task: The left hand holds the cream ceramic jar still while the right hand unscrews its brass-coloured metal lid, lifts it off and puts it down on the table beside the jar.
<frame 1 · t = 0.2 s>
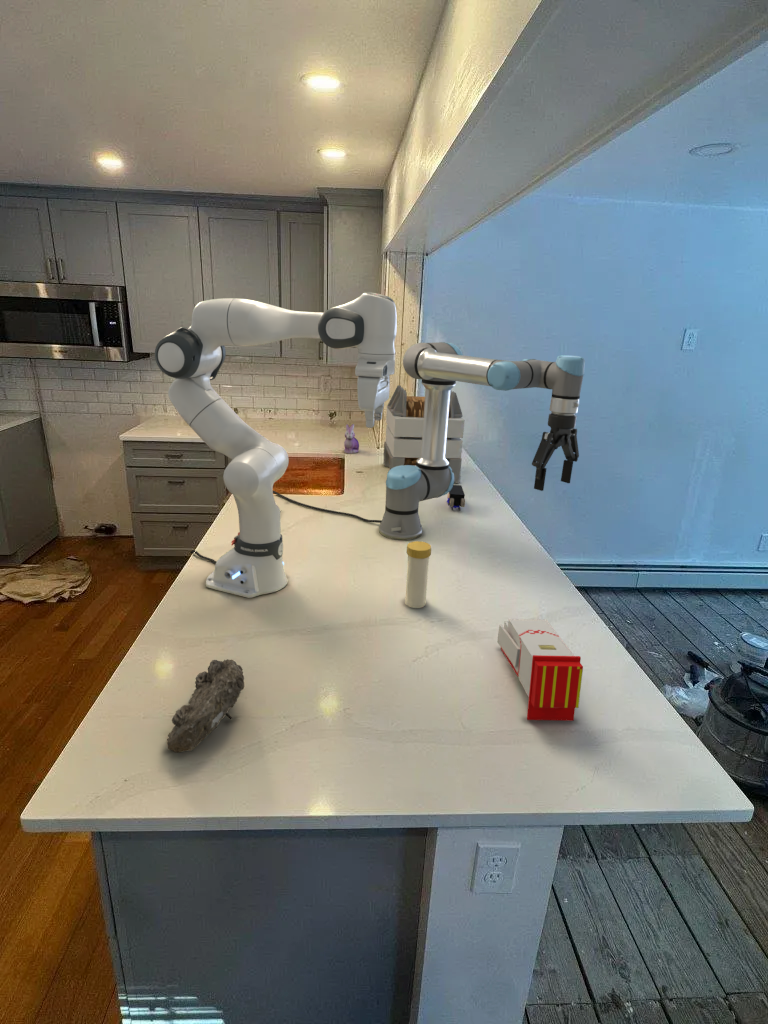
left hand: (374, 423, 139), 48 cm above the counter, tool pointing down, fingers open, 8 cm apart
right hand: (552, 485, 166), 28 cm above the counter, tool pointing down, fingers open, 13 cm apart
toy: (530, 678, 124), on the counter
fossil: (212, 717, 108), on the counter
white slatted box: (419, 473, 275), on the counter
figurine: (351, 451, 309), on the counter
figurine character: (454, 506, 230), on the counter
feather: (279, 514, 213), on the counter
lid: (419, 547, 148), point 16 cm above the counter, screwed on, not yet turned
jar: (415, 603, 153), on the counter
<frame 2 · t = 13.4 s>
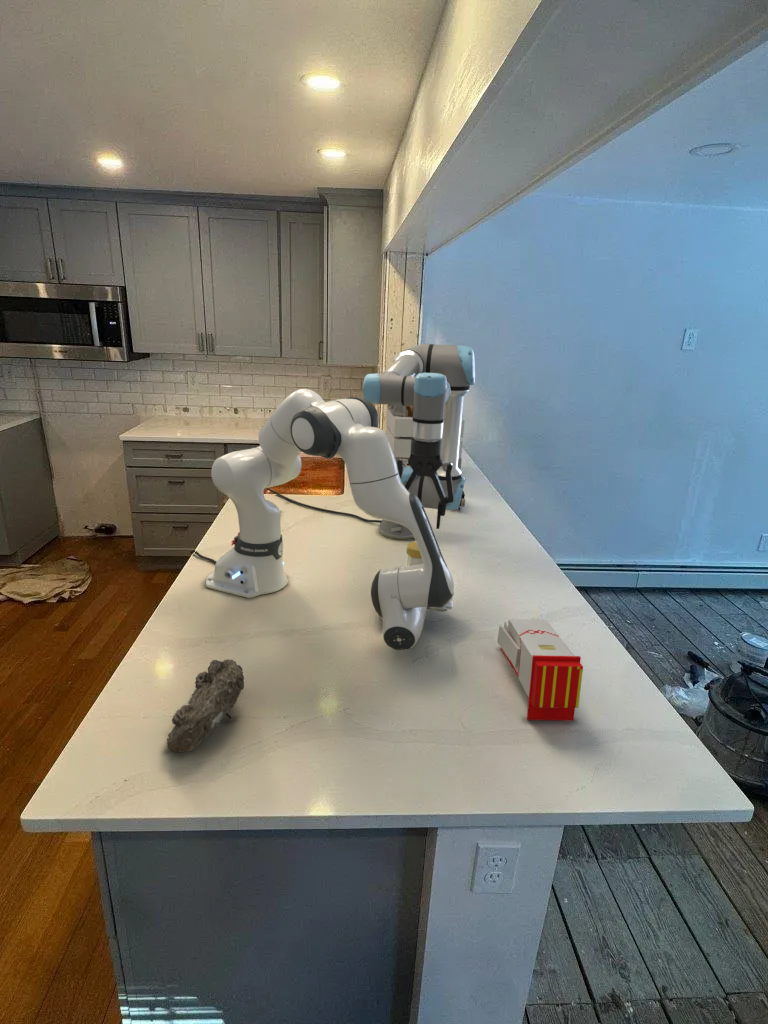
left hand: (417, 580, 152), 6 cm above the counter, tool horizontal, fingers closed on jar, 5 cm apart
right hand: (420, 525, 146), 23 cm above the counter, tool pointing down, fingers open, 8 cm apart
jar: (415, 603, 153), on the counter, touching left hand
everything else where it was.
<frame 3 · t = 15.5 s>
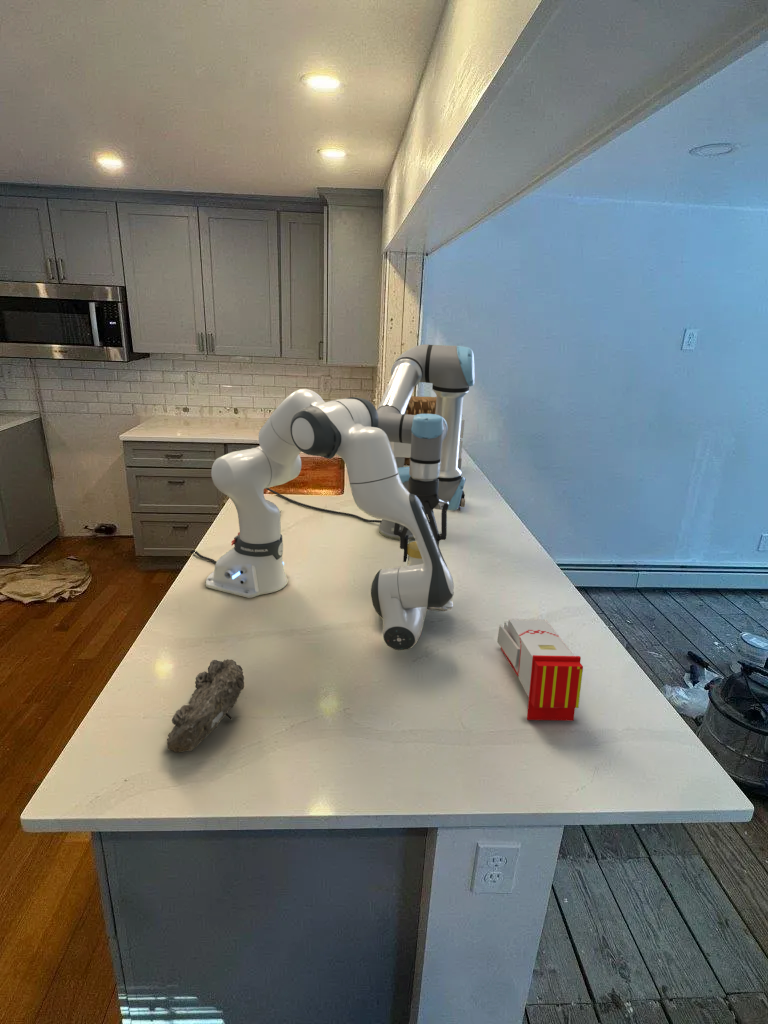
left hand: (417, 580, 152), 6 cm above the counter, tool horizontal, fingers closed on jar, 5 cm apart
right hand: (418, 561, 149), 12 cm above the counter, tool pointing down, fingers closed on lid, 6 cm apart
lid: (419, 547, 148), point 16 cm above the counter, screwed on, not yet turned, touching right hand
jar: (415, 603, 153), on the counter, touching left hand
everything else where it was.
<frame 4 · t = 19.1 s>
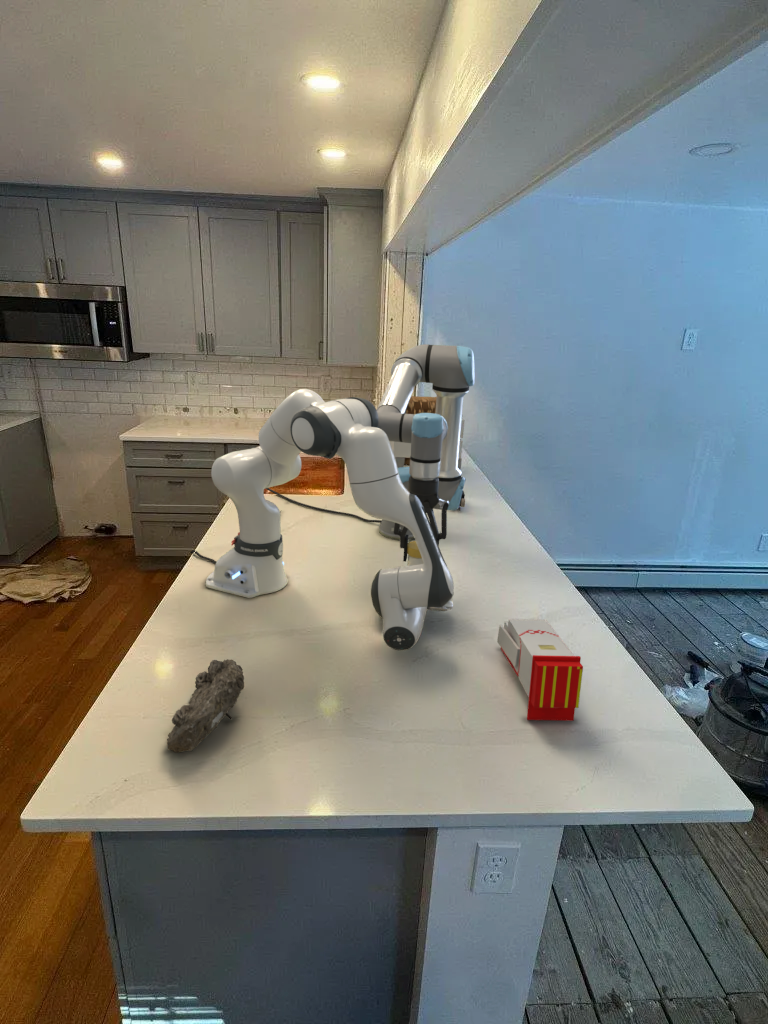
left hand: (417, 580, 152), 6 cm above the counter, tool horizontal, fingers closed on jar, 5 cm apart
right hand: (418, 560, 149), 13 cm above the counter, tool pointing down, fingers closed on lid, 6 cm apart
lid: (419, 546, 148), point 17 cm above the counter, turned 129° so far, risen 0.2 cm, still on its thread, touching right hand
jar: (415, 603, 153), on the counter, touching left hand
everything else where it was.
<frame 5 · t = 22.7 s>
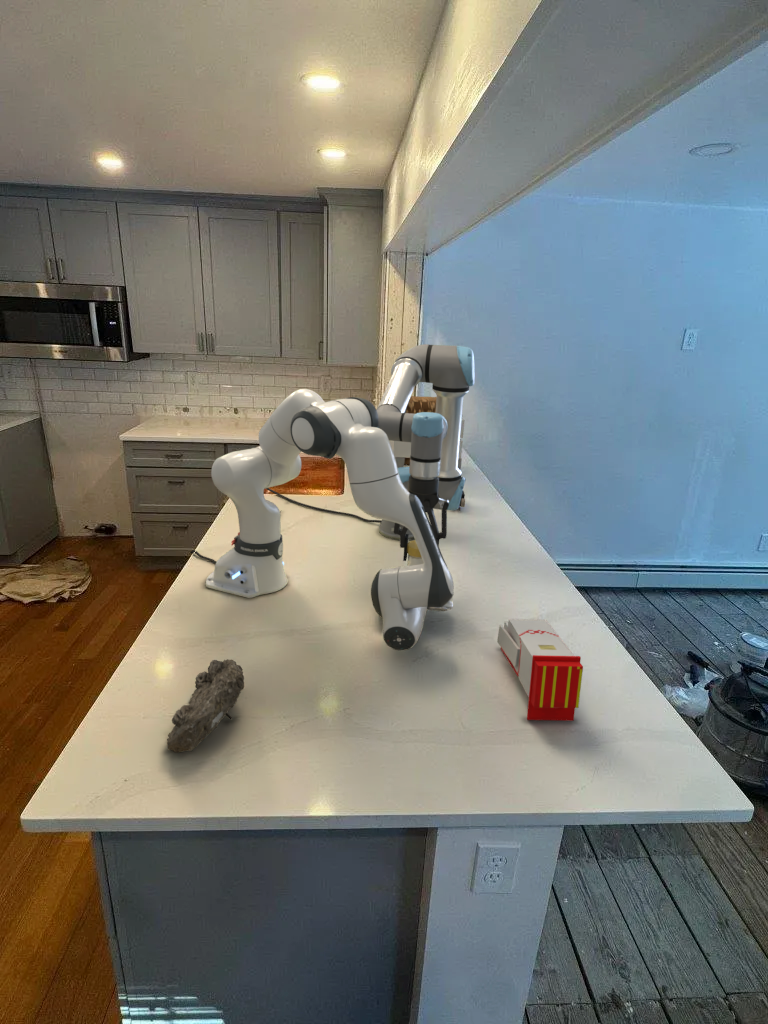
left hand: (417, 580, 152), 6 cm above the counter, tool horizontal, fingers closed on jar, 5 cm apart
right hand: (418, 559, 149), 13 cm above the counter, tool pointing down, fingers closed on lid, 6 cm apart
lid: (419, 545, 148), point 17 cm above the counter, turned 259° so far, risen 0.4 cm, still on its thread, touching right hand
jar: (415, 603, 153), on the counter, touching left hand
everything else where it was.
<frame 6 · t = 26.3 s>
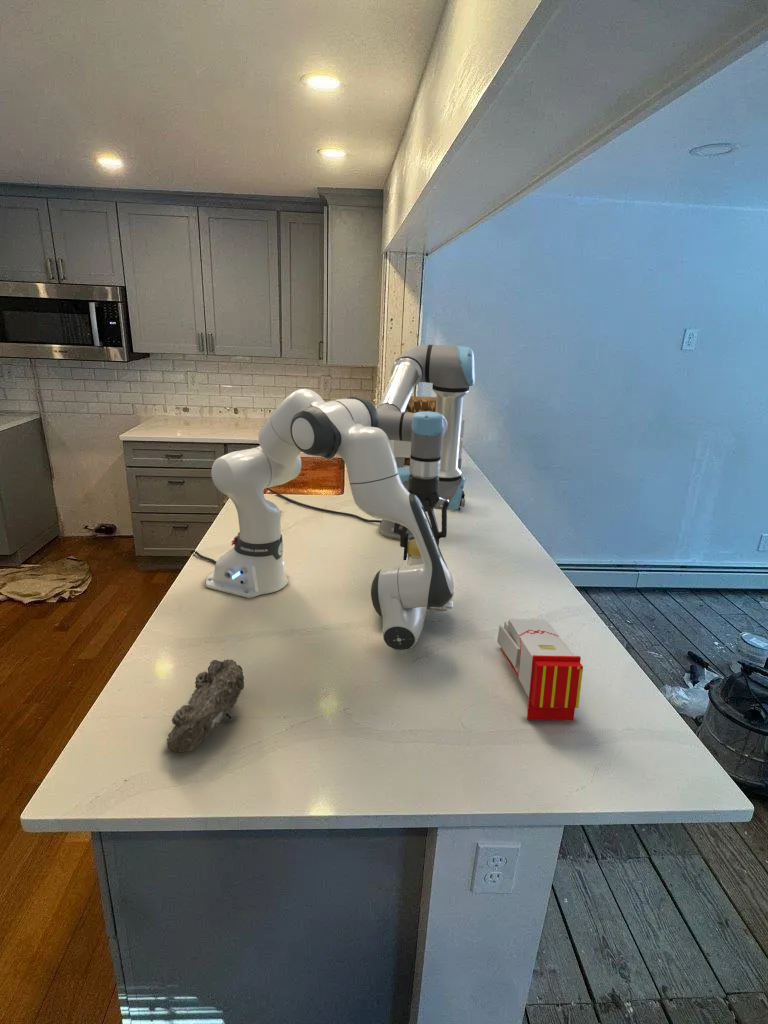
left hand: (417, 580, 152), 6 cm above the counter, tool horizontal, fingers closed on jar, 5 cm apart
right hand: (418, 559, 149), 13 cm above the counter, tool pointing down, fingers closed on lid, 6 cm apart
lid: (419, 545, 148), point 17 cm above the counter, turned 388° so far, risen 0.6 cm, still on its thread, touching right hand
jar: (415, 603, 153), on the counter, touching left hand
everything else where it was.
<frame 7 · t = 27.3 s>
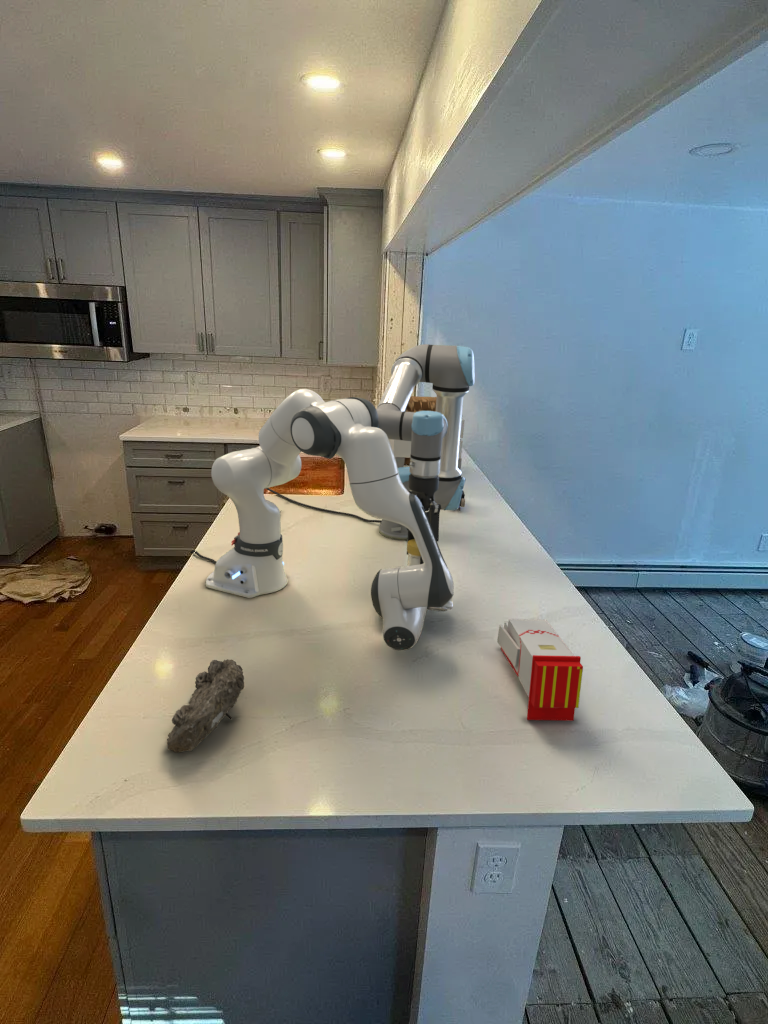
left hand: (417, 580, 152), 6 cm above the counter, tool horizontal, fingers closed on jar, 5 cm apart
right hand: (418, 558, 149), 13 cm above the counter, tool pointing down, fingers closed on lid, 6 cm apart
lid: (419, 544, 148), point 17 cm above the counter, off its thread, touching right hand
jar: (415, 603, 153), on the counter, touching left hand
everything else where it was.
when the right hand's fingers open (0 cm above the counter, at t = 33.5 s): lid drops 2 cm, point 2 cm above the counter.
when the left hand's fingers open (6 cm above the counter, at t = 34.2 s): jar stays where it is, on the counter.
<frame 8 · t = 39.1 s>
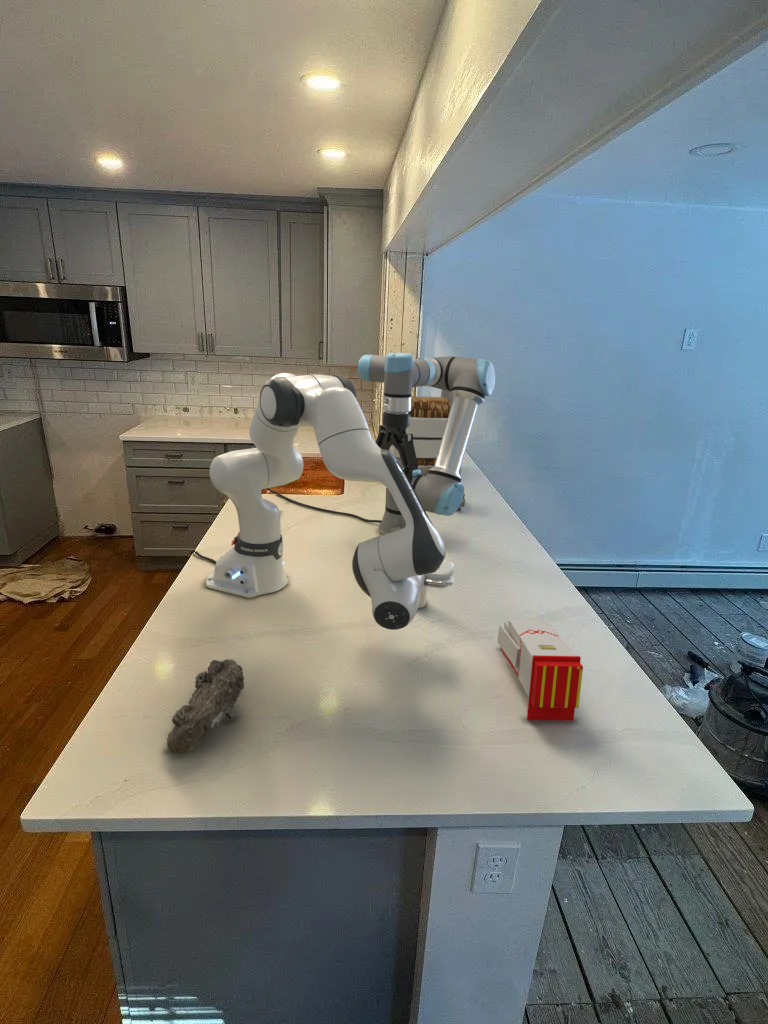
left hand: (413, 555, 136), 19 cm above the counter, tool horizontal, fingers open, 8 cm apart
right hand: (392, 486, 162), 27 cm above the counter, tool pointing down, fingers open, 13 cm apart
lid: (388, 566, 170), point 2 cm above the counter, off its thread
jar: (415, 603, 153), on the counter
everything else where it was.
at the end: lid came off its thread; lid point 1.9 cm above the counter; the left hand is holding nothing; the right hand is holding nothing; jar tilted 0°; jar moved 0.0 cm from its start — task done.
